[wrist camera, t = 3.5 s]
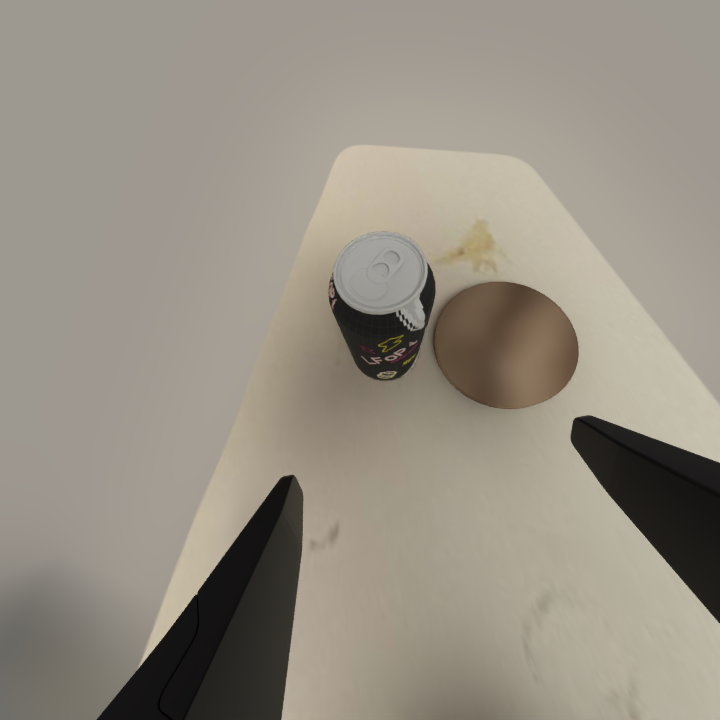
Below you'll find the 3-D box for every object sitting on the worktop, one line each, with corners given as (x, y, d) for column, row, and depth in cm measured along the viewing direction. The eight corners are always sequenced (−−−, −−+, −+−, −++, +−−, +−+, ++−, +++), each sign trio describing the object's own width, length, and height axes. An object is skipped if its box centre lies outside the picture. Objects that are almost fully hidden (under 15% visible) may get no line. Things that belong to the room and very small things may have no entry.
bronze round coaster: (575, 300, 24) (582, 294, 23) (565, 425, 21) (573, 424, 20) (447, 278, 26) (449, 272, 25) (421, 389, 23) (423, 386, 22)
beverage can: (431, 348, 24) (467, 259, 12) (388, 396, 23) (384, 348, 12) (382, 311, 25) (375, 202, 14) (340, 355, 25) (296, 276, 13)
